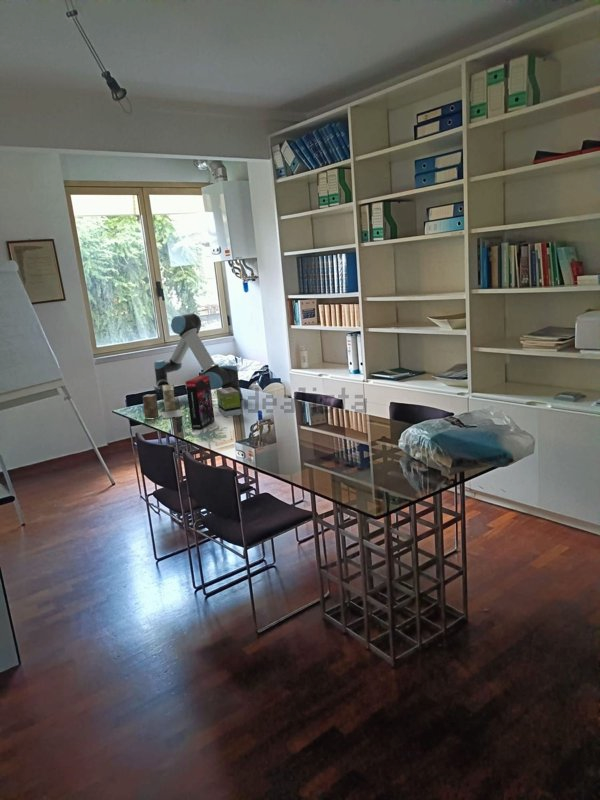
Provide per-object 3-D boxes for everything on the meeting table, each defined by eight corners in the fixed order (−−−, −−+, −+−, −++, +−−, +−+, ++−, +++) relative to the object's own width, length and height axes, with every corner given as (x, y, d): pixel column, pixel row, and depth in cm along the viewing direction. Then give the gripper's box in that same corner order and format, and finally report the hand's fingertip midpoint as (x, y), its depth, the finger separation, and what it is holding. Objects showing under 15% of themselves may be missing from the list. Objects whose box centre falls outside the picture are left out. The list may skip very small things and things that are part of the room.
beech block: (173, 405, 374) (172, 384, 365) (175, 410, 369) (173, 389, 360) (164, 406, 372) (162, 385, 363) (165, 411, 368) (163, 390, 358)
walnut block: (158, 416, 356) (156, 394, 353) (154, 419, 350) (151, 396, 347) (149, 416, 357) (146, 394, 354) (145, 419, 352) (142, 396, 349)
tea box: (218, 412, 356) (215, 389, 352) (233, 410, 360) (231, 386, 356) (225, 417, 342) (223, 393, 339) (242, 414, 346) (239, 390, 343)
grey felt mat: (180, 410, 369) (180, 409, 369) (183, 416, 352) (183, 415, 352) (160, 412, 366) (160, 412, 366) (163, 419, 349) (163, 418, 349)
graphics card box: (201, 430, 319) (196, 381, 313) (190, 429, 321) (184, 381, 315) (215, 421, 335) (210, 375, 329) (204, 421, 337) (199, 375, 331)
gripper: (173, 390, 392) (177, 396, 370) (154, 392, 389) (156, 399, 367) (172, 379, 391) (176, 385, 369) (152, 381, 387) (154, 387, 365)
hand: (166, 392), depth 368 cm, fingers closed
